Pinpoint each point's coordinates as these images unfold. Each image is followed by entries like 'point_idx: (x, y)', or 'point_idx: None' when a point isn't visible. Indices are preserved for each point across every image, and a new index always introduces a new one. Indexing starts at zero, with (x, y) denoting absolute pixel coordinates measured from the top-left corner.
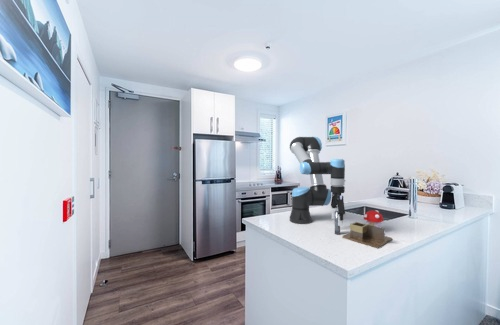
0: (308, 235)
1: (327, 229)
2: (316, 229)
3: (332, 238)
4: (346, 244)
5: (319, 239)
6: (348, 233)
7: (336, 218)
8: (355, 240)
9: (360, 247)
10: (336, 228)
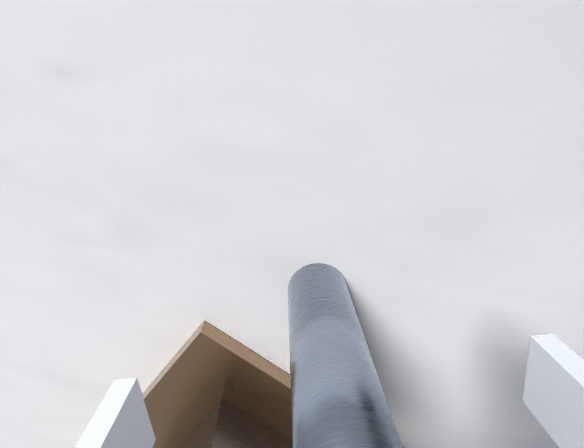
0: None
1: (463, 201)
2: (451, 48)
3: (145, 221)
4: (22, 326)
5: (47, 58)
6: None
7: (298, 439)
8: None
9: (4, 416)
10: (292, 317)
